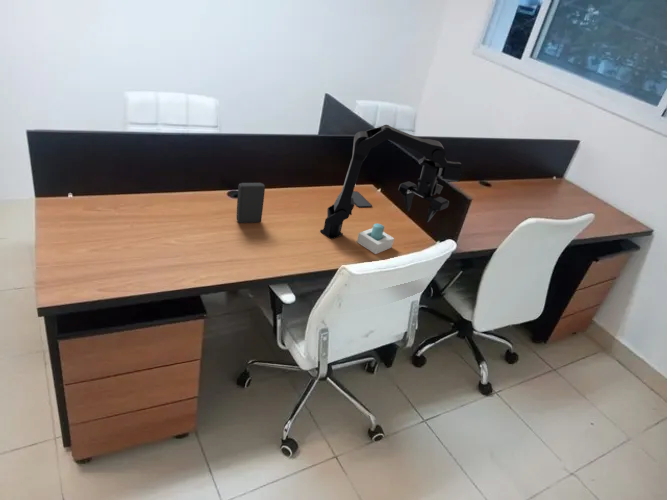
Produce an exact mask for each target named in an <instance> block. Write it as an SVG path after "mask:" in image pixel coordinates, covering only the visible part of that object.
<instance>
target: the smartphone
mask: <svg viewBox="0 0 667 500" xmlns="http://www.w3.org/2000/svg"><path fill="white" fill-rule="evenodd" d="M351 198H354V206H356V208H359V209H360V208H361V209H363V208H372V207H373V205H372V204H371V202H369V201H368V200H367V198H365V197H364V196H363V194H361V193H360V192H359V191H356V190H355V191H353V194H352V197H351Z"/></svg>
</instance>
